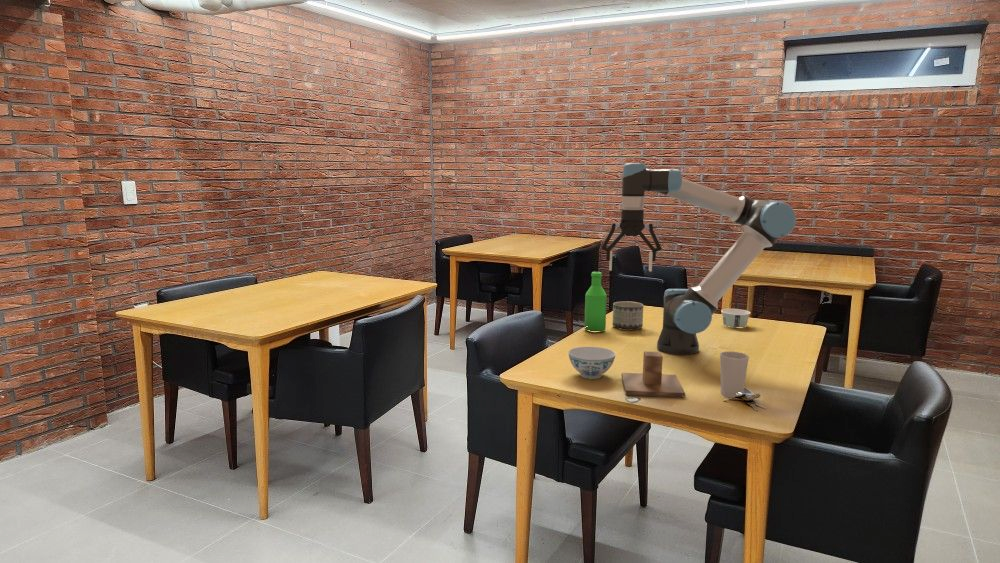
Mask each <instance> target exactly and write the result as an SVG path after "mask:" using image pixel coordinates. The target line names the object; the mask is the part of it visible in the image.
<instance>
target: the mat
mask: <svg viewBox="0 0 1000 563" xmlns="http://www.w3.org/2000/svg"><path fill="white" fill-rule="evenodd" d="M626 396H635V397H637V396H638V397H639V396H640V397H662V398H664V397H665V398H683V397H684V396H666V395H643V394H626Z"/></svg>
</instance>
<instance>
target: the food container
mask: <svg viewBox="0 0 1000 563" xmlns="http://www.w3.org/2000/svg"><path fill="white" fill-rule="evenodd" d="M720 311H721V313H722V315H721V316H722V323H723V326H724V325H726V326H730V327H745V326H746V327H747V325H748V322H749V317H750V315H751V312H750V311H749V310H746V309H741V308H740V309H739V308H723V309H721V310H720Z"/></svg>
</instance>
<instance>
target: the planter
mask: <svg viewBox="0 0 1000 563" xmlns="http://www.w3.org/2000/svg"><path fill="white" fill-rule="evenodd" d="M643 319H644V304H643V303H641V302H636V301H628V300H627V301H616V302H613V304H612V327H614V328H616V329H617V328H618V329H619V328H621V329H620V330H622V329H635V330H638V329H641V328H642V327H643V326H644V323H643V321H644V320H643Z"/></svg>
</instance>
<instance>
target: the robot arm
mask: <svg viewBox="0 0 1000 563" xmlns="http://www.w3.org/2000/svg"><path fill="white" fill-rule="evenodd" d="M621 177H622V181H621V182H622V183H621V184H622V188H621V208H622V209H621V210H620V211H621V213H620V214H621V215H620V223H615V222H612V223H611V226H610V230H609V232H608V234H607V235H606V237H605V239H604V241H603V244H601V247H600V248H601V250H603V251H605V253H606V256H605V257H606V258H605V259H606V261H607V262H608V263H609V266H608V268H609V269H608V271H609V272H612V271H613V251H612V249H613V248H614V247H615V246H616V245H617V244H618V243H619V242H620V240H621V239H623V237H624V236H626V237H638V236H639V237H640V238H641V239H642V240H643V242H644V243H645V244H646V246H647V247H648V248H649V249H650V250H651V251H648V252H649V254H648V256H649V257H648V272H653V262H656V260H657V258H656V256H657V255H656V254H657V252H659V251H662V246H661V244H660V242H659V240H658V237H657V235H656V233H655V231H654V226H653V223H651V222H650V223H644V217H645V216H644V215H645V211H644V208H645V192H656V193H658V194H661V195H663V196H667V197H670V198H674V199H677V200H679V201H682V202H684V203H687V204H690V205H693V206H695V207H698V208H701V209H705V210H707V211H709V212H710V211H711V212H713V213H717V214H718V215H721V216H724V217H726V218H729V219H730V221H731V222H733V223H736V224H738V225H740V226H742V229H743V232H742V233H741V235H740V236H739V237H738V238H737V239H736V241H734V243H733V244H732V245H731V246H730V248H729V249H728V250H727V251H726V252H725V253H724V255H723V256H722V257H721V258H720V259H719V261H718V262H717V263H716V264H715V265H714V266H713V268H712V269H711V270H710V271H709V272H708V273H707V275H705V277H703V279H702V280H701V281H700V283H699V284H698V285H696V286H691V287H690V288H668V289H666V290H665V291H664V294H663V313H662V314H663V315H662V329H661V331H660V334H659V337H658V339H657V340H656V341H657V342H656V348H657V350H658V351H659V352H663V353H667V354H673V355H694V354H697V353H699V350H700V344H699V340H698V337H697V334H700V333H702V332H704V331H706V330H707V329H708V327H710V325H711V322H712V318H713V314H715V313H716V312H717V310H718V309H719V304H718V303H719V300H721V299H722V298H723V296H724V295H725V294H726V293H727V292H728V290H730V288H731V287H732V286H733V285H734V284H735V282H736V281H737V280H738V279H739V278H740V277H741V275H743V273H744V272H745V271H746V270H747V269H748V268H749V267H750V265H751V264H752V263H753V261H755V259H756V258H757V257H758V256H759V255H760V254H761V253H762V252H763V250H764V249H765V248H771V247H773V246H774V245H775V244H776V243H777V241H778V240H779V239H780V238H784V237H785V236H788V235H790V233H792V232H793V230H794V228H795V227H796V223H797V219H796V218H797V216H796V212H795V211H794V209H793V207H792V206H791V205H789V204H788V203H786V202H783V201H780V200H765V199H754V198H750V197H746V196H743V195H741V196H740V197H737V196H735V195H731V194H729V193H726V192H723V191H720V190H717V189H714V188H711V187H709V186H706V185H702V184H700V183H697V182H694V181H691V180H689V179H686V178H683V173H682V171H681V170H680V169H677V168H653V169H652V168H647V165H646V163H644V162H628V163H624V165H623V167H622V176H621ZM618 228H619V229H620V230H621V231H620V233H619V234H618V235H617V236H616V237H615V238H614V239H613V241H612V242H611V243H610V244H609V242H610V240H611V238H612V236H613V235H614V232H615V231H616V230H618ZM645 228H646V230H647V231H648V232H649V234H650V236H651V238H652V241H653V243H654V244H655V247H654V245H653V244H652V243H651V242H650V240H649V239H648V238H647V237H646V236H645V234H644V233H643V230H644V229H645ZM608 244H609V245H608Z"/></svg>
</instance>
